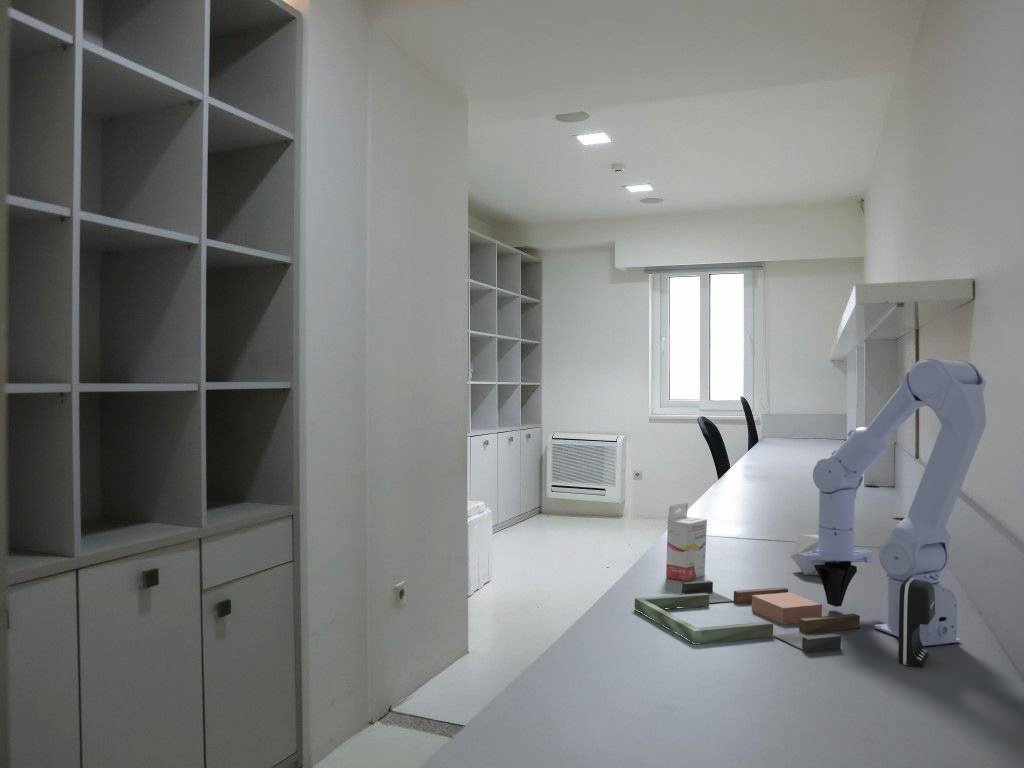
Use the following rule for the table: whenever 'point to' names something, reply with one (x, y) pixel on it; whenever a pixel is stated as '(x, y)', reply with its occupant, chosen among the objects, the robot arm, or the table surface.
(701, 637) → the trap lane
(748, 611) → the table surface
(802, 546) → the die
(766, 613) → the brick block
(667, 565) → the ink cartridge box
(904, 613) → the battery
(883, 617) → the table surface
